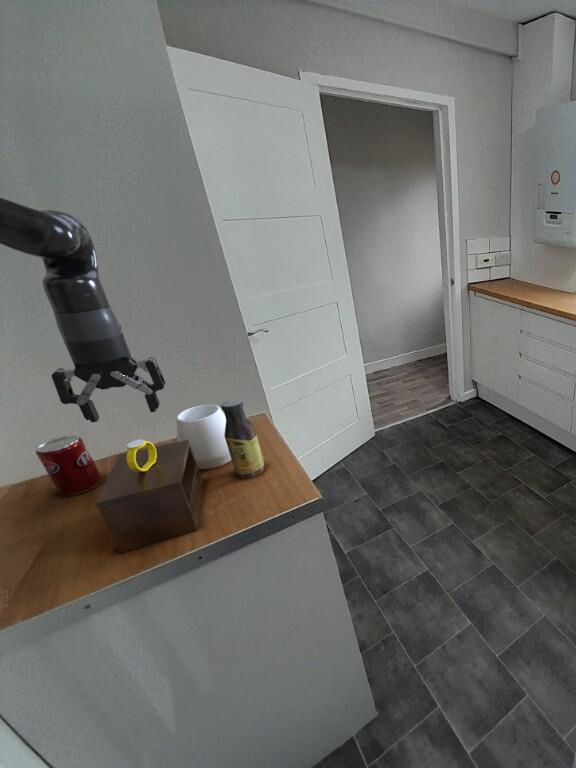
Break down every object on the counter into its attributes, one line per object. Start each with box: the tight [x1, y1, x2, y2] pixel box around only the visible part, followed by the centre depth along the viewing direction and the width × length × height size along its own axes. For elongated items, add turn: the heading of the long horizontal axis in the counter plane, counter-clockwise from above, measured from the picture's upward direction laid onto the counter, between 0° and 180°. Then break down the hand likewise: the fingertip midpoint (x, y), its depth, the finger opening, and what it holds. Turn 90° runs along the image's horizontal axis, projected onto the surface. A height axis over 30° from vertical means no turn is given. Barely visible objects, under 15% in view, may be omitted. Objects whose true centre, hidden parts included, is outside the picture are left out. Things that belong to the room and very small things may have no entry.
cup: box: [176, 404, 232, 470], centre depth 103 cm, size 13×13×14 cm
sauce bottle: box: [220, 398, 266, 479], centre depth 97 cm, size 7×6×20 cm
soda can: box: [35, 434, 103, 496], centre depth 93 cm, size 7×7×12 cm
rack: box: [95, 440, 204, 554], centre depth 85 cm, size 12×18×12 cm, turn 31°
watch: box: [126, 439, 157, 472], centre depth 81 cm, size 6×3×6 cm, turn 8°
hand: (125, 415), depth 78 cm, fingers open, 8 cm apart
